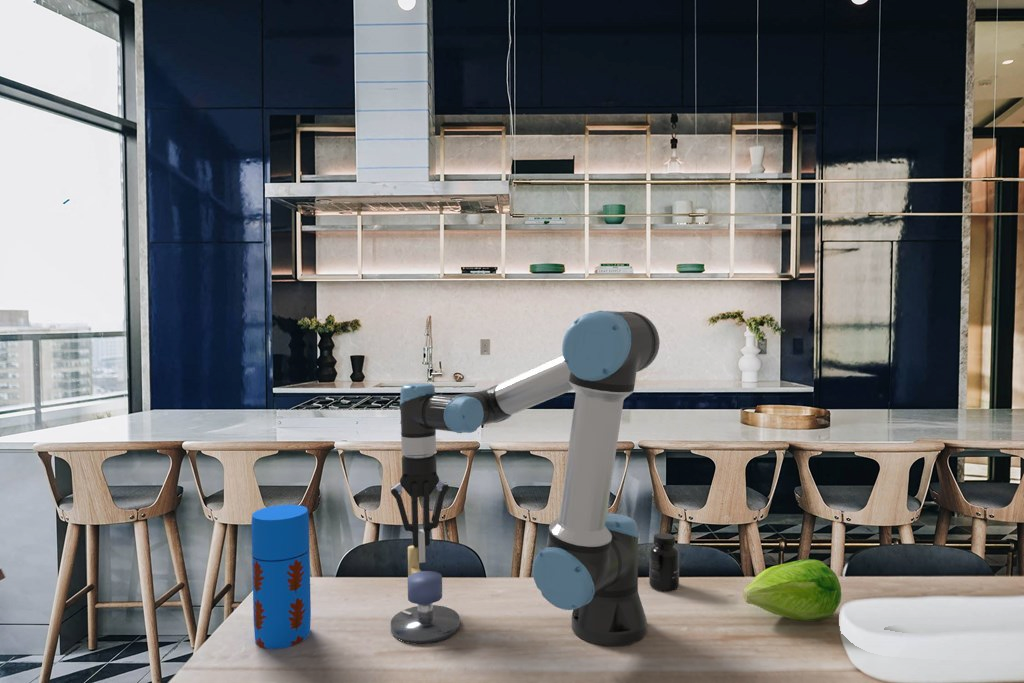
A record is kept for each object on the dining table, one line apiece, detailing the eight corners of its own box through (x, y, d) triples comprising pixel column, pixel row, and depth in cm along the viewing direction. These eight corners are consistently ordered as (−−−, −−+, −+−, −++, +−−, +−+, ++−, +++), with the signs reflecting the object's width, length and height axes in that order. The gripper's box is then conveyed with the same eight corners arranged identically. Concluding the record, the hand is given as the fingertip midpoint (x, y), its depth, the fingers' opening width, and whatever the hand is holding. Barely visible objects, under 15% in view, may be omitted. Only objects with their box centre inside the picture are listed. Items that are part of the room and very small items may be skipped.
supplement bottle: (682, 592, 151) (682, 540, 150) (652, 592, 151) (652, 540, 150) (675, 580, 158) (675, 531, 157) (646, 580, 158) (646, 531, 157)
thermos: (274, 655, 124) (271, 523, 123) (242, 638, 131) (240, 514, 130) (322, 632, 133) (319, 510, 132) (290, 618, 139) (288, 501, 138)
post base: (473, 623, 136) (473, 594, 136) (427, 651, 125) (426, 620, 125) (424, 606, 145) (423, 579, 144) (376, 631, 133) (375, 602, 133)
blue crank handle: (446, 602, 133) (445, 568, 132) (411, 608, 130) (411, 573, 130) (428, 574, 147) (427, 543, 147) (396, 578, 145) (396, 547, 144)
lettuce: (728, 607, 143) (728, 553, 142) (815, 602, 145) (815, 548, 145) (760, 638, 129) (760, 578, 129) (855, 631, 131) (856, 572, 131)
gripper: (445, 449, 149) (447, 551, 150) (387, 452, 146) (390, 557, 147) (450, 455, 142) (453, 563, 143) (390, 459, 139) (393, 569, 140)
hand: (421, 560), depth 145 cm, fingers closed
